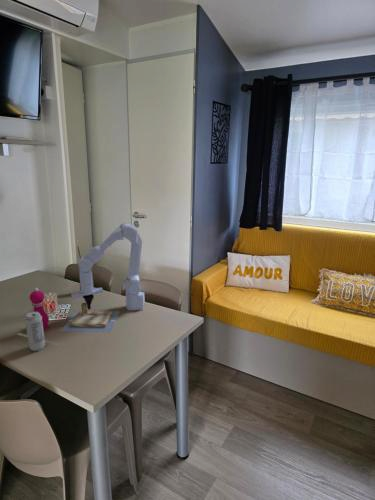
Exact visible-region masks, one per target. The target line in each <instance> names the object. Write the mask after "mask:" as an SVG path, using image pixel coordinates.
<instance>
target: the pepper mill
mask: <svg viewBox="0 0 375 500" xmlns="http://www.w3.org/2000/svg"><path fill="white" fill-rule="evenodd" d="M45 296H46V295H45V293H44V292H43V291H42V290H39V288H38V287H35V288H34V289H33V291H32V292H31V293H30V294H29V300H30V302H31V306H32V309H33V312H39V313H40V315H41V316H42V323H43V330H44V331H46V330H47V329H48V328H49V321H50V318H49V315H48V314H47V312H46V311H45V309H44V304H45V301H44V299H45Z"/></svg>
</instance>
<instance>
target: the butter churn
mask: <svg viewBox="0 0 375 500" xmlns="http://www.w3.org/2000/svg"><path fill="white" fill-rule="evenodd" d="M77 252H78V255H79V256H78V257H79V260H80V259H81V258H82V257H81V253H80V248H79V246H78V245H77ZM79 270H80V268H79V269H78V271H79ZM78 274H79V276H80V272H79V273H78ZM78 280H80V277H79V279H78ZM79 291H81V285H80V284H79Z"/></svg>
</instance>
